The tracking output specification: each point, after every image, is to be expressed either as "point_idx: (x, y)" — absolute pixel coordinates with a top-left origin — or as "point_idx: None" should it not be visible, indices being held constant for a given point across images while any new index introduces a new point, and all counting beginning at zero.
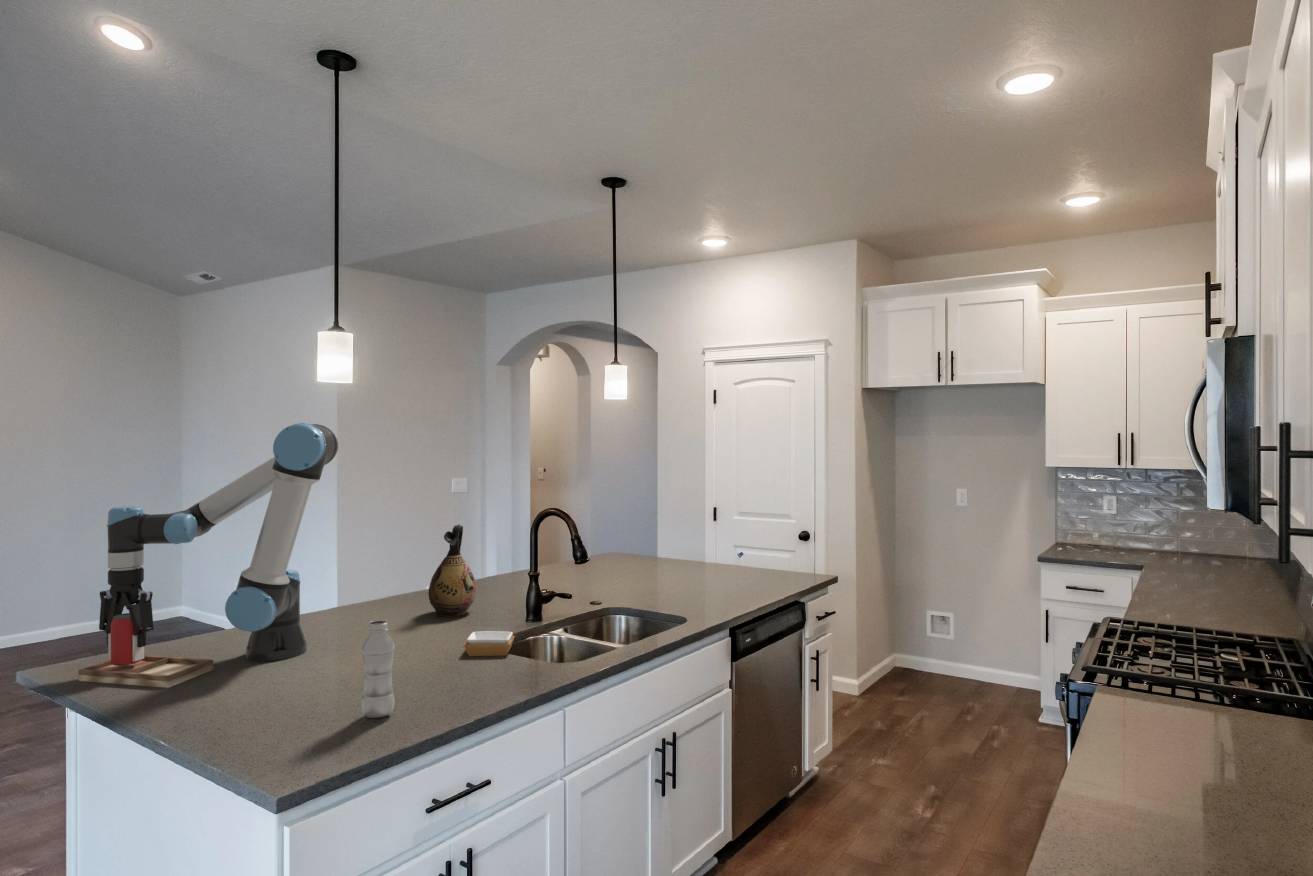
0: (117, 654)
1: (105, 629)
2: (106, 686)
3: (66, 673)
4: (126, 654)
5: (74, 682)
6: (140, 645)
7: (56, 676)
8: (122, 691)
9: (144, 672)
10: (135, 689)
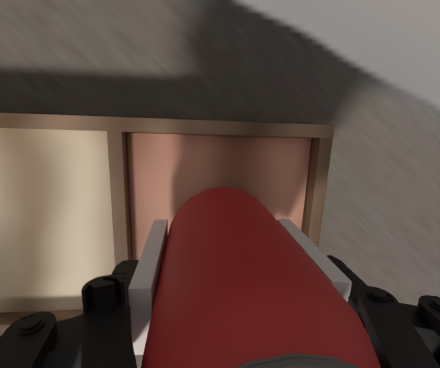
0: (217, 200)
1: (396, 302)
2: (166, 88)
3: (416, 188)
4: (182, 216)
5: (317, 110)
6: (120, 266)
7: (424, 156)
8: (47, 42)
9: (101, 194)
10: (19, 72)
